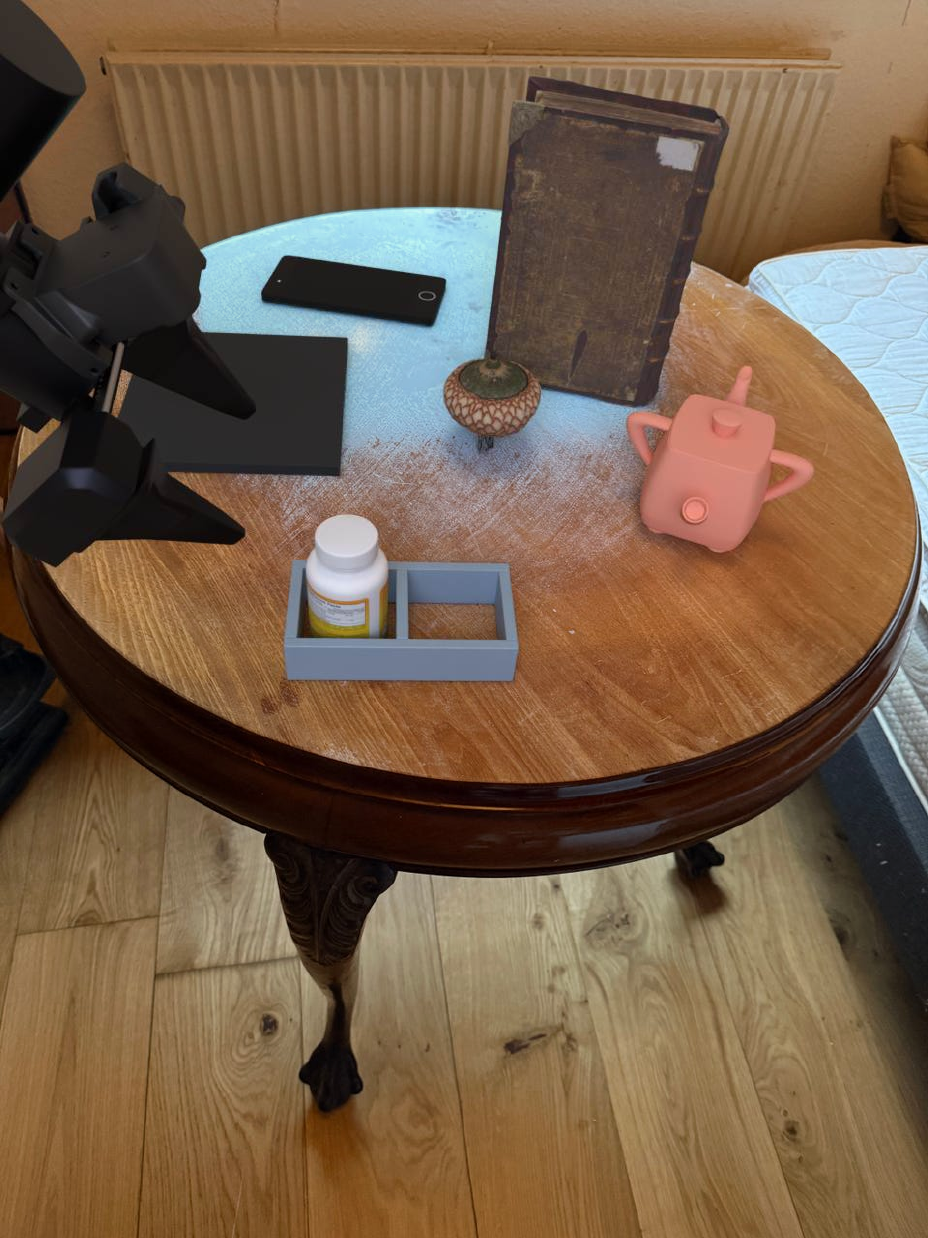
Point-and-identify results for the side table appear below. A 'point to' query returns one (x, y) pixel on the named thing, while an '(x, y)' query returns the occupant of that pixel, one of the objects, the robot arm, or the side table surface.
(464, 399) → the acorn
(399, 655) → the holder
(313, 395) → the mat
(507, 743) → the side table surface
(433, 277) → the cell phone
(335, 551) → the supplement bottle
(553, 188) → the book
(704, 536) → the teapot
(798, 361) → the side table surface
